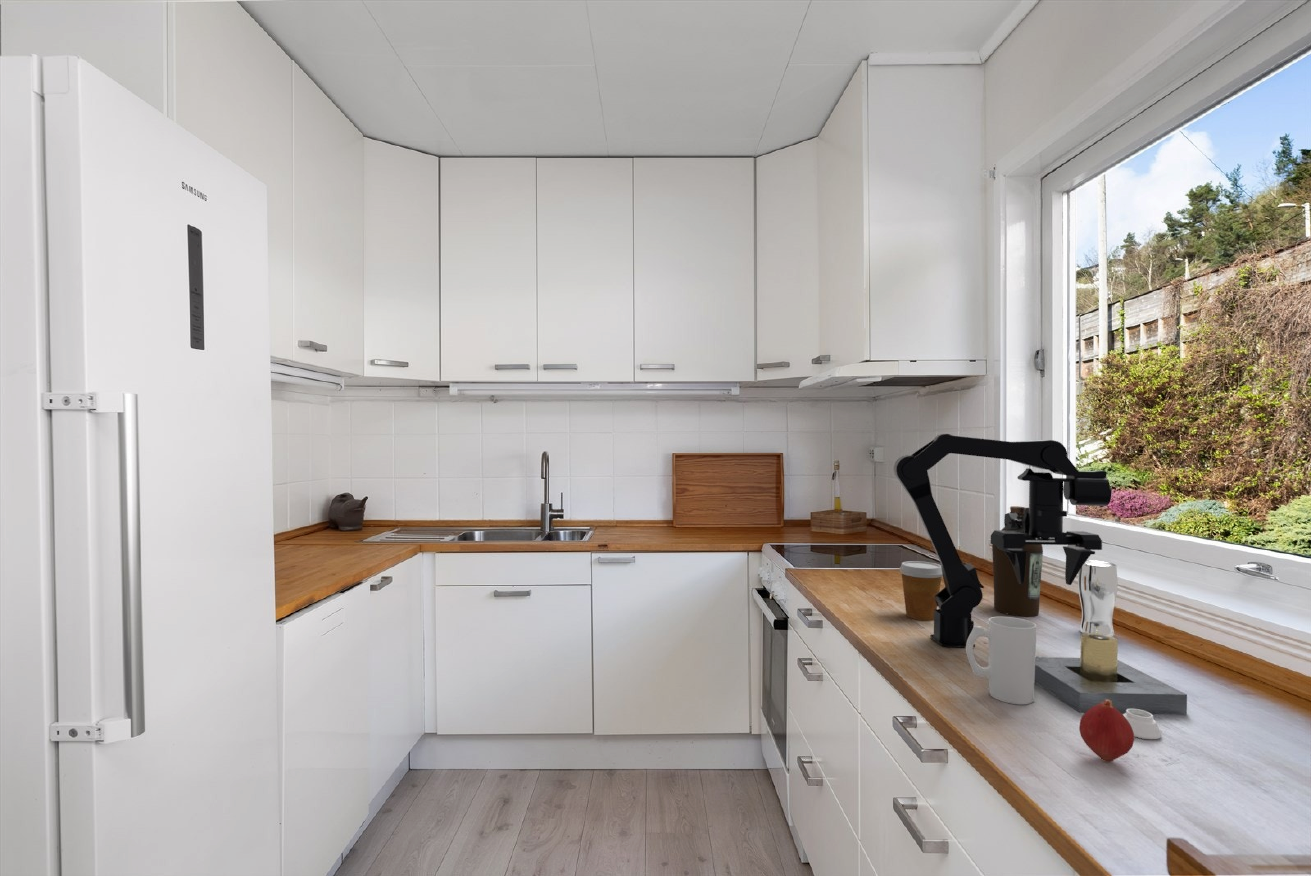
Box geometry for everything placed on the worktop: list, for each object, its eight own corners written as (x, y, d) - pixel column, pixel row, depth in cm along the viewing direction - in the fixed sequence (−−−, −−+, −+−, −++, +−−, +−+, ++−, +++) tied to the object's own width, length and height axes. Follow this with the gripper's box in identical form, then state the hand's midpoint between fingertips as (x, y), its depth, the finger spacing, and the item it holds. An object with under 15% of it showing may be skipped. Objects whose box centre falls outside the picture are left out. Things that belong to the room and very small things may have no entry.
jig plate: (1079, 712, 100) (1079, 692, 100) (1022, 673, 116) (1022, 656, 116) (1186, 714, 99) (1187, 694, 99) (1114, 675, 115) (1114, 658, 115)
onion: (1068, 750, 87) (1069, 690, 87) (1109, 749, 88) (1110, 689, 88) (1101, 773, 82) (1102, 708, 82) (1144, 771, 82) (1146, 707, 82)
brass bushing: (1092, 698, 105) (1093, 641, 105) (1073, 686, 110) (1074, 632, 110) (1124, 699, 105) (1125, 642, 105) (1103, 687, 110) (1104, 632, 110)
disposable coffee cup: (889, 613, 154) (890, 562, 154) (919, 609, 158) (920, 559, 158) (921, 624, 145) (922, 570, 145) (952, 619, 149) (953, 567, 149)
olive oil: (984, 610, 157) (986, 506, 157) (1000, 603, 165) (1001, 503, 165) (1033, 620, 150) (1035, 510, 150) (1047, 611, 157) (1049, 507, 157)
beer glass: (1123, 639, 136) (1124, 567, 136) (1085, 637, 137) (1086, 565, 137) (1107, 630, 143) (1108, 561, 143) (1071, 627, 144) (1072, 559, 144)
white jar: (1162, 733, 93) (1119, 722, 97) (1162, 712, 93) (1119, 702, 97) (1160, 745, 90) (1115, 734, 93) (1160, 723, 89) (1116, 713, 93)
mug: (1030, 692, 107) (1031, 618, 107) (1040, 708, 101) (1041, 630, 101) (962, 684, 111) (963, 612, 110) (968, 699, 104) (969, 623, 104)
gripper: (1069, 500, 136) (1067, 575, 136) (978, 499, 136) (977, 574, 137) (1104, 506, 125) (1103, 588, 125) (1005, 505, 125) (1004, 587, 125)
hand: (1044, 584), depth 128 cm, fingers open, 9 cm apart
